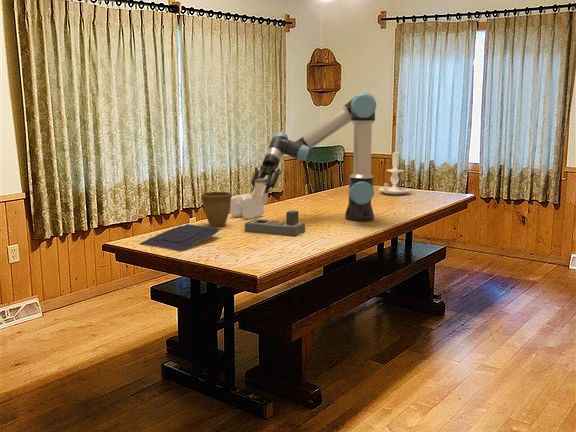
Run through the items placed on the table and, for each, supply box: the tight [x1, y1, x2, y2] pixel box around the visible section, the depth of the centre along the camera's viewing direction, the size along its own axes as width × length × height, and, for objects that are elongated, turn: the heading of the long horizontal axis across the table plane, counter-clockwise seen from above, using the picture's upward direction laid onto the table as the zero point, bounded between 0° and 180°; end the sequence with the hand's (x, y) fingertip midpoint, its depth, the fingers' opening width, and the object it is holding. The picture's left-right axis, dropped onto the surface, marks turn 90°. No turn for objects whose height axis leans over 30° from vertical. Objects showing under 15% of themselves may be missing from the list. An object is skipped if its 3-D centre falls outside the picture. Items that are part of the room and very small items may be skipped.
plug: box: [255, 178, 268, 206], centre depth 291 cm, size 4×5×12 cm
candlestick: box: [378, 151, 411, 195], centre depth 398 cm, size 21×25×28 cm
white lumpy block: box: [230, 193, 265, 220], centre depth 325 cm, size 15×11×12 cm
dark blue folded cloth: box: [139, 223, 222, 252], centre depth 272 cm, size 24×30×4 cm
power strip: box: [244, 210, 306, 237], centre depth 291 cm, size 26×12×10 cm, turn 67°
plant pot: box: [200, 191, 233, 228], centre depth 303 cm, size 15×15×16 cm
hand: (257, 197), depth 288 cm, fingers closed on plug, 4 cm apart
